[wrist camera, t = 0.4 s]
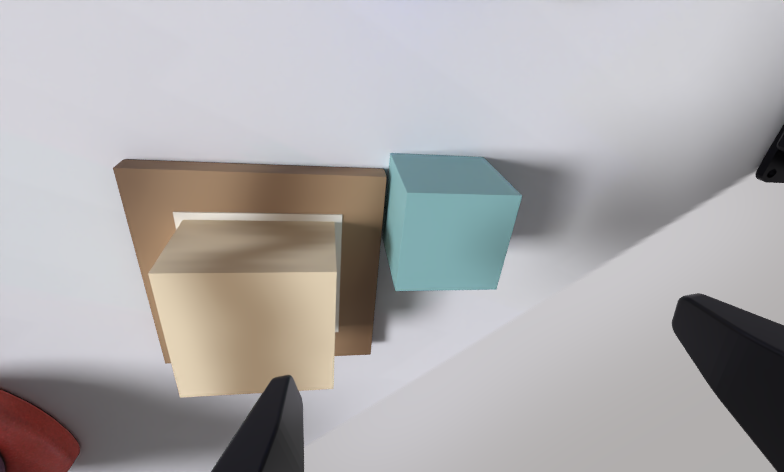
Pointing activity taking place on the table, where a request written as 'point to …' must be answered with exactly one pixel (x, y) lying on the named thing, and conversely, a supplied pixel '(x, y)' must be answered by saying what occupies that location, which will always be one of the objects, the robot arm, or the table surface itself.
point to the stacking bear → (33, 439)
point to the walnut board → (265, 203)
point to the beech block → (248, 304)
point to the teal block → (447, 222)
